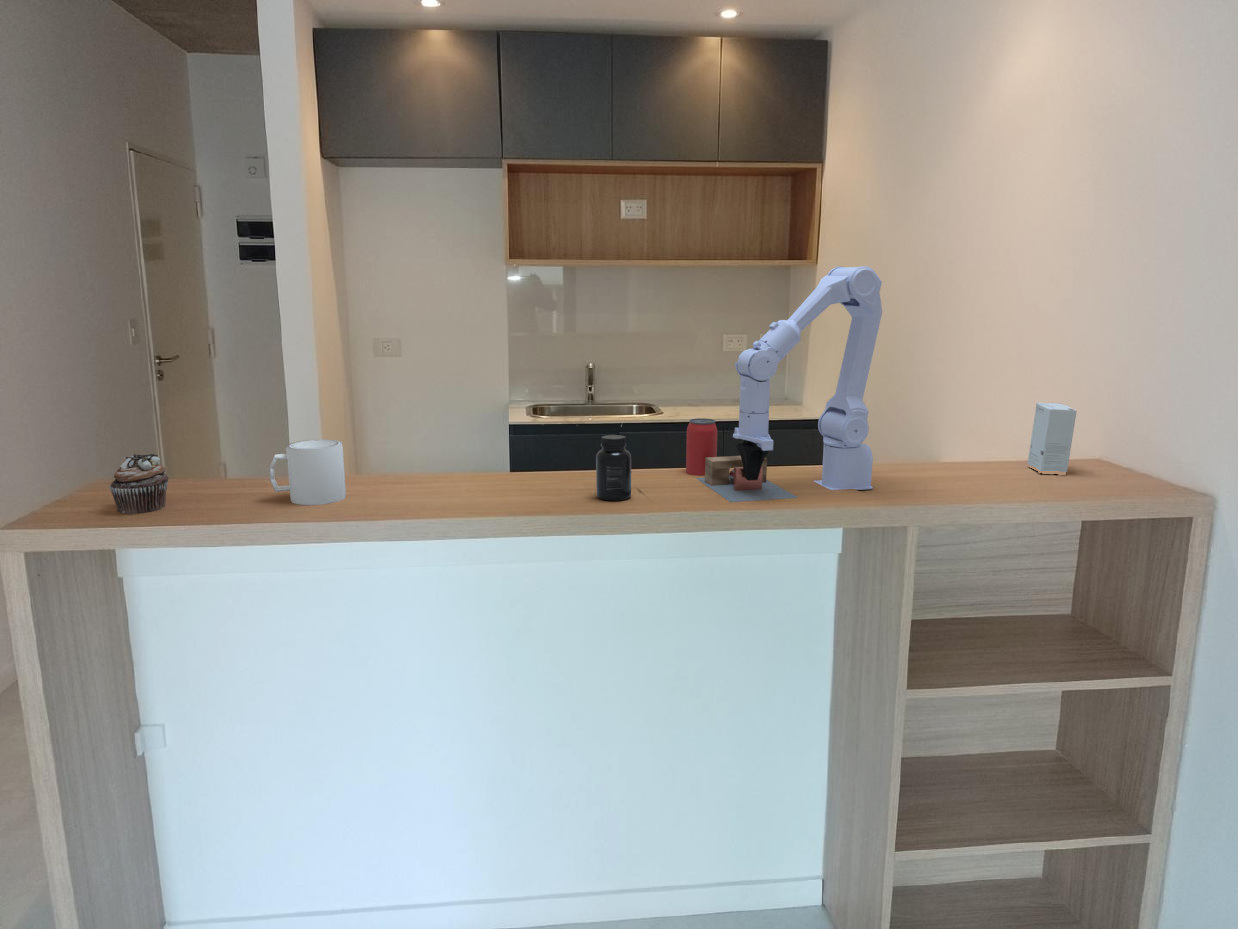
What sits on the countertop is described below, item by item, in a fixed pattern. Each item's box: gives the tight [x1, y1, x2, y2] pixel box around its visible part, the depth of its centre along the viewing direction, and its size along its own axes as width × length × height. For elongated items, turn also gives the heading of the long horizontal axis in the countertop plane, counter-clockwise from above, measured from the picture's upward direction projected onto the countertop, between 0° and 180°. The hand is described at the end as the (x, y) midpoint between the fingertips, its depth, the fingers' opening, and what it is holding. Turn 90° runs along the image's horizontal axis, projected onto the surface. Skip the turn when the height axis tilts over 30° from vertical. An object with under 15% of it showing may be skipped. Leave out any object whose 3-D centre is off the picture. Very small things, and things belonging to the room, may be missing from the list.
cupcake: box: [108, 453, 169, 515], centre depth 160 cm, size 10×10×10 cm
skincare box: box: [1026, 402, 1077, 473], centre depth 191 cm, size 8×6×15 cm
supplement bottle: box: [595, 434, 632, 502], centre depth 168 cm, size 7×7×12 cm
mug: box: [269, 439, 347, 506], centre depth 166 cm, size 14×10×11 cm
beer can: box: [685, 417, 718, 477], centre depth 187 cm, size 7×7×12 cm
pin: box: [729, 466, 763, 491], centre depth 176 cm, size 7×6×4 cm
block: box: [704, 455, 768, 486], centre depth 179 cm, size 12×4×5 cm, turn 104°
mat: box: [695, 477, 799, 503], centre depth 175 cm, size 14×20×1 cm
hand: (751, 479), depth 171 cm, fingers closed
